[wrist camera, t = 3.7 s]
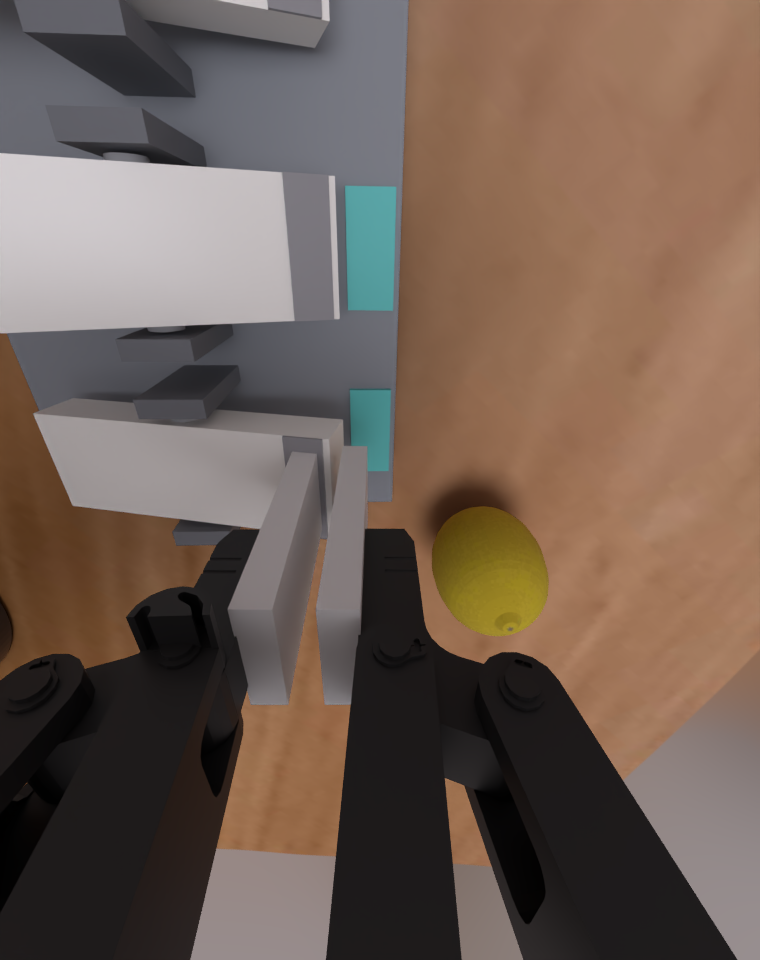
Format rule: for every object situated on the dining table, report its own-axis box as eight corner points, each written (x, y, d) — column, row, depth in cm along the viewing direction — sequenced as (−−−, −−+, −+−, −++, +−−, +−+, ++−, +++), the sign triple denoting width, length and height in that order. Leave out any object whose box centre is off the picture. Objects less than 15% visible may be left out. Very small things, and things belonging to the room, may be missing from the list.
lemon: (405, 511, 24) (422, 620, 17) (489, 463, 23) (546, 560, 16) (451, 569, 26) (483, 685, 19) (530, 528, 25) (594, 637, 18)
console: (123, 463, 22) (12, 565, 15) (-84, -154, 12) (-725, -729, 5) (387, 461, 22) (398, 559, 15) (401, -130, 12) (453, -612, 5)
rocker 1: (-34, 332, 11) (-68, 346, 10) (-122, 144, 9) (-182, 126, 8) (327, 318, 14) (340, 326, 13) (320, 175, 12) (335, 165, 11)
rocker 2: (106, 488, 17) (72, 511, 15) (70, 392, 15) (27, 408, 13) (346, 516, 15) (333, 544, 14) (342, 413, 13) (327, 434, 12)
